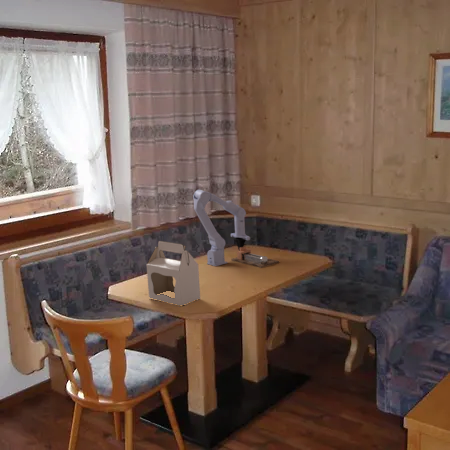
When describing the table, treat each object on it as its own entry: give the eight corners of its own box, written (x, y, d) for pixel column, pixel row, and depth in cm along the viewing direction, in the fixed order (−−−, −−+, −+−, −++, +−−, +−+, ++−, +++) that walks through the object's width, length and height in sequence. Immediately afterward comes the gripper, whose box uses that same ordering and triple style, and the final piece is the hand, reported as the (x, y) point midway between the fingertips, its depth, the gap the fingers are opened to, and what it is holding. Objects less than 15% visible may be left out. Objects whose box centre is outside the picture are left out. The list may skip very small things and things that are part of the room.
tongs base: (269, 263, 363) (268, 257, 363) (263, 264, 361) (263, 258, 360) (246, 257, 378) (245, 251, 377) (240, 259, 375) (240, 253, 374)
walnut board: (279, 262, 367) (279, 261, 367) (261, 268, 358) (261, 266, 358) (249, 255, 386) (249, 254, 386) (231, 260, 377) (231, 258, 377)
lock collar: (251, 257, 377) (250, 246, 376) (241, 259, 372) (240, 249, 371) (247, 256, 379) (247, 245, 378) (237, 259, 375) (237, 248, 373)
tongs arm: (263, 261, 367) (263, 256, 366) (261, 261, 366) (261, 256, 365) (246, 257, 378) (245, 252, 377) (244, 257, 377) (244, 252, 376)
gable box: (201, 299, 310) (197, 242, 304) (182, 307, 300) (178, 248, 295) (167, 291, 324) (163, 237, 319) (148, 299, 314) (144, 242, 309)
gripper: (253, 227, 371) (254, 251, 374) (236, 224, 382) (237, 247, 385) (244, 230, 367) (245, 253, 370) (227, 226, 378) (228, 249, 381)
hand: (240, 250), depth 377 cm, fingers closed
